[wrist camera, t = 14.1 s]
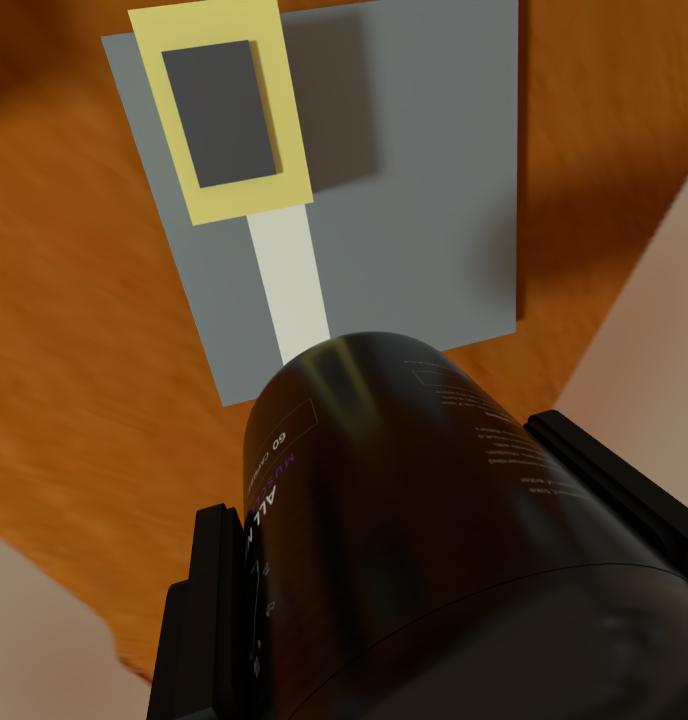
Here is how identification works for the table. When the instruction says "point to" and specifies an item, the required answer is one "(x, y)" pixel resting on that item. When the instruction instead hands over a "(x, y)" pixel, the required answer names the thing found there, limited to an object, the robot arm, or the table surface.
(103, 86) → the table surface
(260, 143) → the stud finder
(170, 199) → the board
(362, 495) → the supplement bottle
